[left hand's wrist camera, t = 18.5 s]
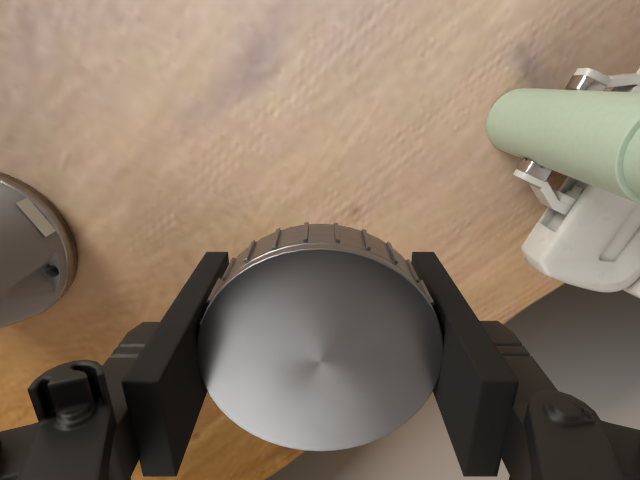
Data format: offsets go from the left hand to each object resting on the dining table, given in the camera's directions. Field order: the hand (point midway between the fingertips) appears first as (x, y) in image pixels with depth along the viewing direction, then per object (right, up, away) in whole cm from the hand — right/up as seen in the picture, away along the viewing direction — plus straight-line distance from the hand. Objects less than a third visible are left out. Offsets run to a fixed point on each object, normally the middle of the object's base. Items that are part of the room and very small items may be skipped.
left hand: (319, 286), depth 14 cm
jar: (+17, +12, +21) cm, 30 cm away
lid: (0, -1, -4) cm, 4 cm away
